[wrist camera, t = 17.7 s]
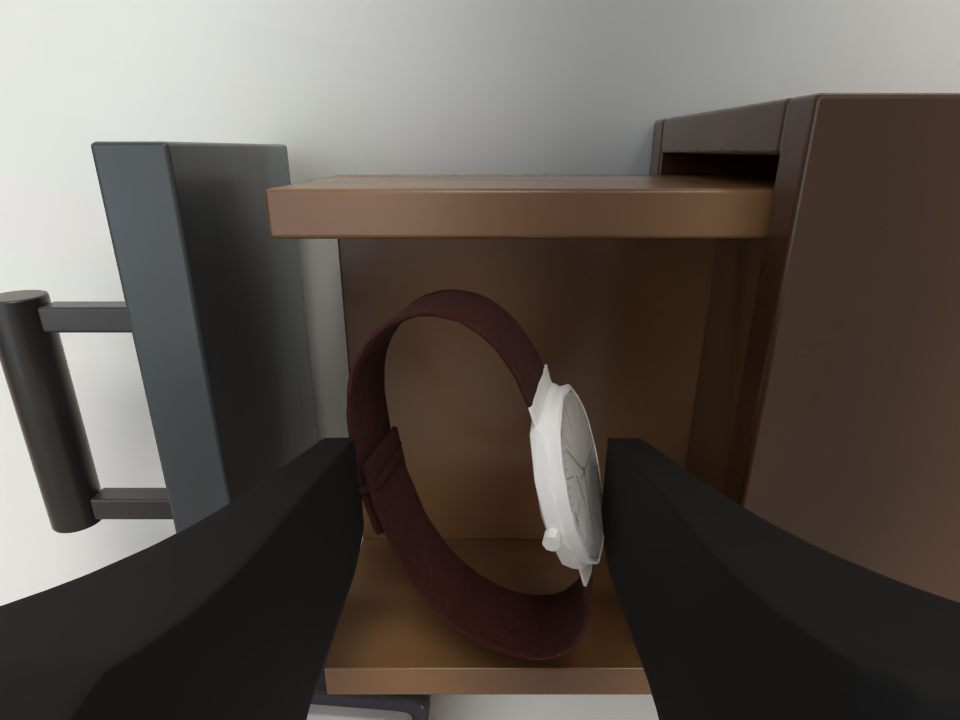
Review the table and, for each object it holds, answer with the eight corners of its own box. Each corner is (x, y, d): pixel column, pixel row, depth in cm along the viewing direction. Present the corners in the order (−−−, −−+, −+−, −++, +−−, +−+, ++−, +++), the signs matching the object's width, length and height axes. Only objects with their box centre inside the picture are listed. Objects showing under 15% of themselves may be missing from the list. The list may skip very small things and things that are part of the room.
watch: (627, 560, 13) (676, 700, 10) (437, 608, 14) (423, 756, 11) (539, 245, 11) (565, 289, 7) (311, 317, 11) (239, 388, 8)
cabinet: (611, 552, 19) (688, 785, 12) (654, 120, 15) (817, 92, 8) (1010, 552, 19) (1318, 785, 12) (1180, 120, 15) (1835, 92, 8)
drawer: (137, 555, 18) (-8, 725, 13) (32, 144, 14) (-249, 141, 9) (682, 555, 18) (767, 726, 13) (744, 144, 14) (909, 141, 9)
